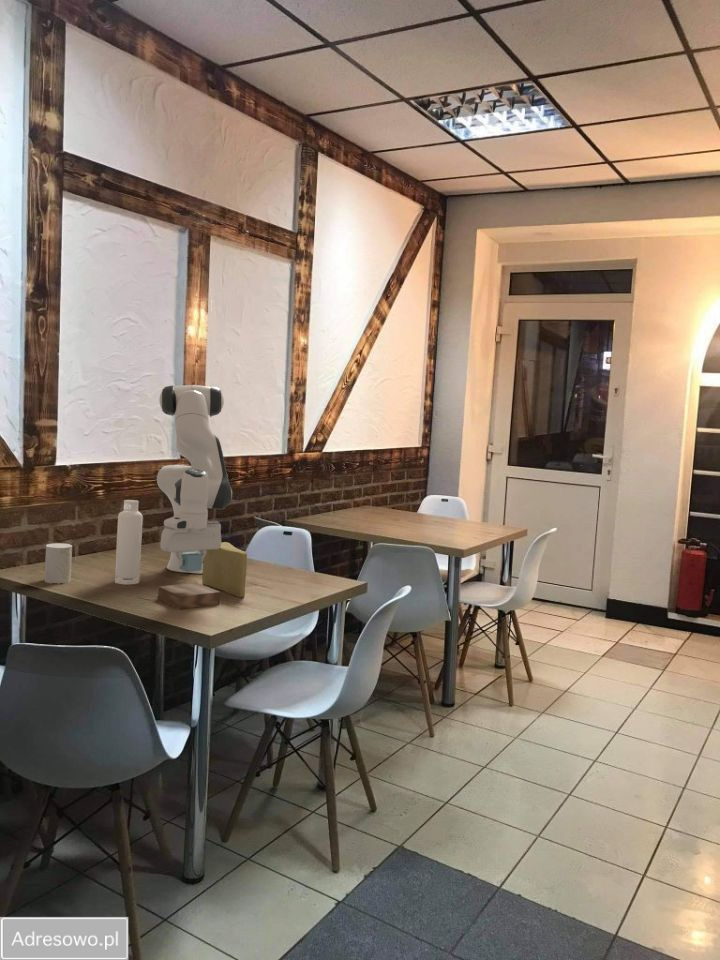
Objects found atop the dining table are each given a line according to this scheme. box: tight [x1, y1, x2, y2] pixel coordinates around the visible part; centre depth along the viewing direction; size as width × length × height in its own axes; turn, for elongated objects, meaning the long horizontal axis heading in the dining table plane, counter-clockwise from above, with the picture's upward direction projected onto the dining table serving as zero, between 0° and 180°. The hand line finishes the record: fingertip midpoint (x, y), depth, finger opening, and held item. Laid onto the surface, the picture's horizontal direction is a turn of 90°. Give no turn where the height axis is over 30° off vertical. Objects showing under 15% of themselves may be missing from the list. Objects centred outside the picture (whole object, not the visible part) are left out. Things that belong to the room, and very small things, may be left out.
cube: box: [179, 552, 202, 573], centre depth 251 cm, size 5×5×5 cm
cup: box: [44, 542, 73, 585], centre depth 265 cm, size 8×8×12 cm
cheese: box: [201, 541, 248, 598], centre depth 271 cm, size 22×10×15 cm, turn 36°
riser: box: [157, 582, 221, 610], centre depth 252 cm, size 14×14×4 cm
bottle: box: [114, 499, 144, 585], centre depth 271 cm, size 8×8×28 cm
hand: (190, 564), depth 251 cm, fingers closed on cube, 5 cm apart
